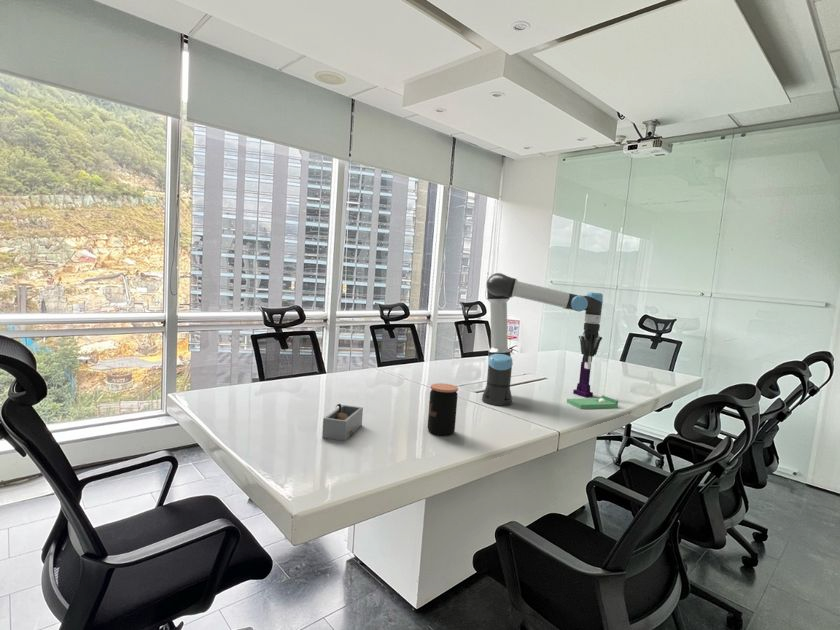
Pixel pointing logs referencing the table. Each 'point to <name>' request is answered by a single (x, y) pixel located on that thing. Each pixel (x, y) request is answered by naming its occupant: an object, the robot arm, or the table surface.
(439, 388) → the coffee jar
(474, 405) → the table surface
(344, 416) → the figurine
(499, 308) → the robot arm
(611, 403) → the green
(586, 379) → the building model
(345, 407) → the open storage box
